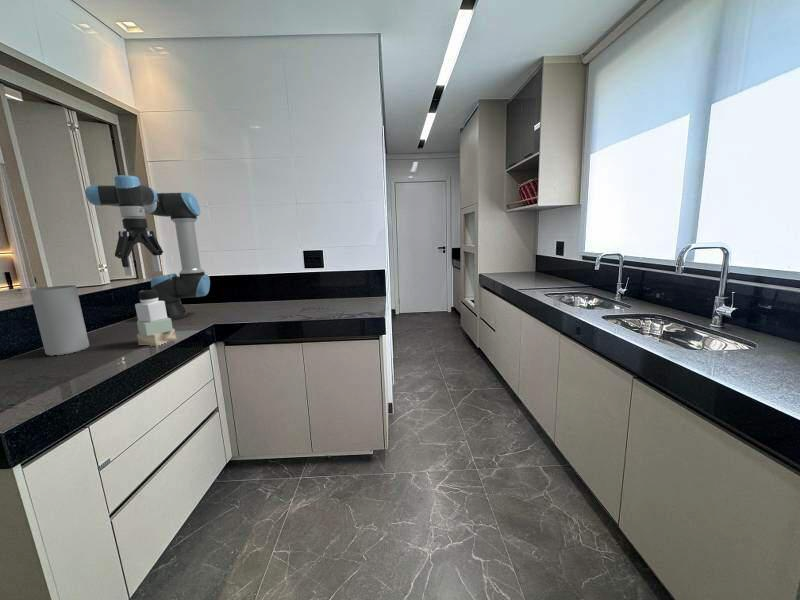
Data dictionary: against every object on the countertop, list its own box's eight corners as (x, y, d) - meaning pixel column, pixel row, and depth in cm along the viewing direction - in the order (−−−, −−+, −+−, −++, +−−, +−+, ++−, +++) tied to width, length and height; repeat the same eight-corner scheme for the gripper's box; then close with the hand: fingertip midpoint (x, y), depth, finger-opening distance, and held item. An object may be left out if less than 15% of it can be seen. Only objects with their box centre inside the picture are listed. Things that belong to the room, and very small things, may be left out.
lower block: (159, 339, 146) (157, 328, 145) (176, 340, 144) (174, 328, 143) (139, 346, 137) (136, 334, 136) (156, 347, 135) (154, 335, 134)
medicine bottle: (168, 317, 141) (162, 289, 138) (150, 322, 134) (145, 292, 132) (155, 317, 143) (149, 288, 140) (137, 321, 136) (131, 291, 134)
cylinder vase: (95, 348, 136) (81, 286, 132) (52, 358, 126) (35, 291, 121) (82, 344, 143) (69, 284, 138) (41, 353, 132) (24, 289, 127)
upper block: (164, 327, 145) (162, 316, 145) (173, 330, 140) (170, 318, 139) (139, 332, 138) (136, 320, 137) (147, 336, 133) (145, 323, 132)
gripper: (113, 216, 119) (125, 277, 123) (167, 218, 143) (176, 269, 147) (94, 217, 120) (106, 277, 124) (150, 219, 144) (159, 269, 148)
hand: (144, 273), depth 136 cm, fingers open, 13 cm apart
